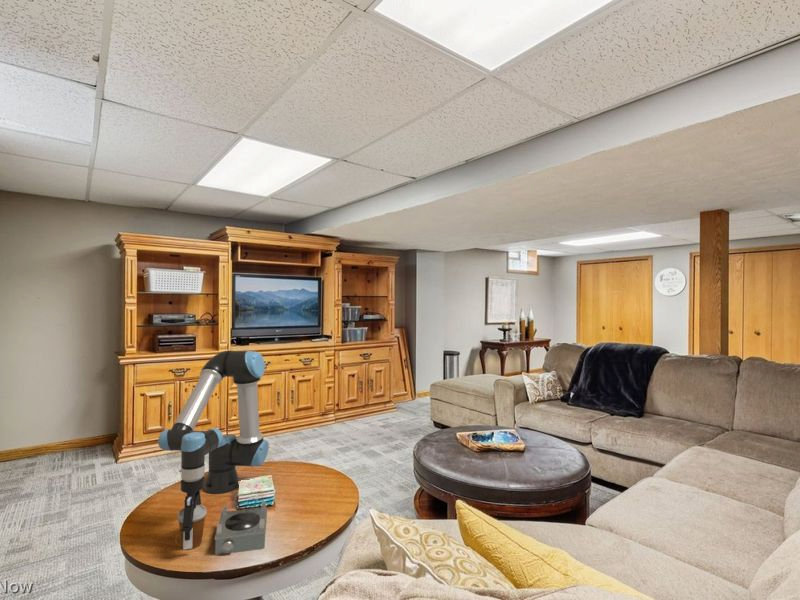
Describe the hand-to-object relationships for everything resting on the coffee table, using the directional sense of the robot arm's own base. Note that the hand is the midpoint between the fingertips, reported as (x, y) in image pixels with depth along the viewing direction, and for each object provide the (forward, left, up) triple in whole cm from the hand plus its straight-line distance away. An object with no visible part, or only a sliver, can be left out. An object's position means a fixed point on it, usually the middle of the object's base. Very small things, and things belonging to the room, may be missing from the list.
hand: (191, 537), depth 152 cm
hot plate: (0, +17, -2) cm, 17 cm away
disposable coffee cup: (0, 0, -2) cm, 2 cm away
